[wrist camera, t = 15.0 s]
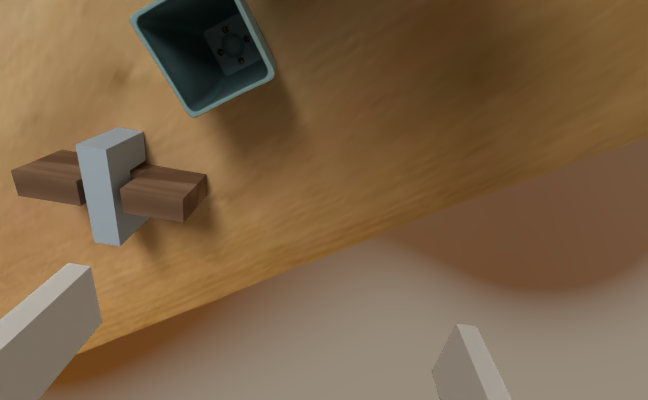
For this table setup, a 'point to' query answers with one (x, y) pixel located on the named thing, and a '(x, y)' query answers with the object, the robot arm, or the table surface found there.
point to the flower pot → (205, 49)
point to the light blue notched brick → (110, 182)
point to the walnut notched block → (136, 196)
